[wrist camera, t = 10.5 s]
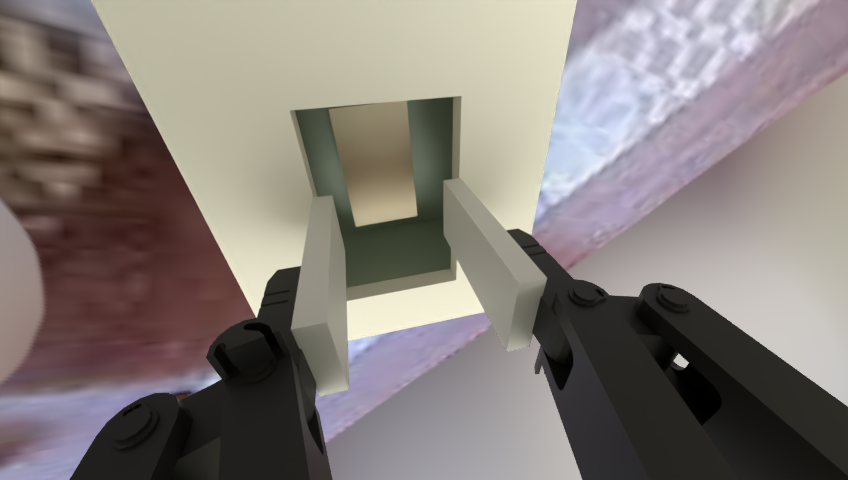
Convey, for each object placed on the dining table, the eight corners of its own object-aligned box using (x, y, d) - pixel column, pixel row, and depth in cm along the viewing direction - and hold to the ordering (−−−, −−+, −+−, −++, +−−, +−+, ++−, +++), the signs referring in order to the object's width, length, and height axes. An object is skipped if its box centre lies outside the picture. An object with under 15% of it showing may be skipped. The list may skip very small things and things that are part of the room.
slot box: (217, 17, 16) (89, -2, 8) (471, 9, 18) (579, -14, 10) (297, 249, 24) (276, 356, 16) (463, 223, 27) (517, 304, 18)
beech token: (330, 96, 18) (328, 109, 15) (395, 89, 19) (406, 99, 16) (353, 199, 22) (355, 226, 19) (406, 190, 23) (417, 215, 20)
